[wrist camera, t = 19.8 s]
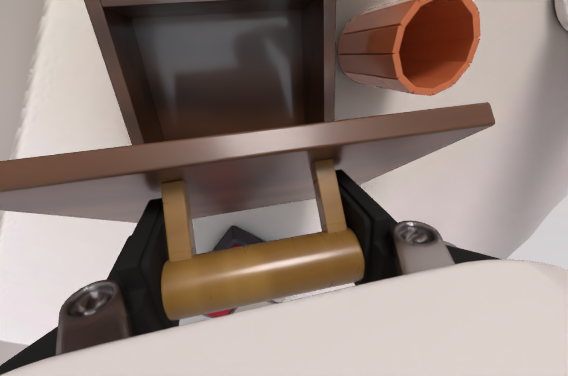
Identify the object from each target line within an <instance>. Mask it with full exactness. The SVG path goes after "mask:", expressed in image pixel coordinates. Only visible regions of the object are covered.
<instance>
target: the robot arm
mask: <svg viewBox="0 0 568 376" xmlns="http://www.w3.org/2000/svg"><path fill="white" fill-rule="evenodd" d="M555 10H556V14H557V17H558V20H559V21H560V23H561V25H562V26H563V27H564V28H565V29H566V30H567V31H568V0H555ZM335 172H336V177H337V182H338V187H339V191H340V196H341V201H342V206H343V211H344V216H345V221H346V226H347V228H350V229H352V231H353V232H354V233H355V235H356V236H357V238H358V240H359V243H360V245H361V248H362V252H363V256H364V262H365V273H364V277H363V279H362V280H361V281H358V282H354V284H355V285H356V286H352V287H348V288H343V289H339V290H334V291H330V292H326V293H321V294H317V295H312V296H308V297H304V298H299V299H295V300H290V301H286V302H282V303H277V304H273V305H268V306H264V307H260V308H255V309H251V310H246V311H242V312H238V313H233V314H229V315H224V316H220V317H216V318H211V319H207V320H202V321H198V322H194V323H189V324H185V325H181V326H179V322H180V320H176V321H170V320H169V319H168V318H167V316H166V314H165V311H164V308H163V303H162V297H161V275H162V270H163V266H164V264H165V262H166V261H168V260H169V255H168V246H167V237H166V228H165V219H164V210H163V201H162V198H158V199H152V200H149V202H148V204H147V206H146V208H145V210H144V212H143V214H142V216H141V218H140V220H139V222H138V224H137V226H136V228H135V230H134V232H133V234H132V235H131V236H129V237H128V239H127V241H126V243H125V245H124V247H123V249H122V251H121V252H120V254H119V256H118V258H117V260H116V262H115V264H114V266H113V268H112V270H111V272H110V274H109V276H108V278H107V280H101V281H97V282H94V283H91V284H89V285H87V286H85V287H83V288H81V289H80V290H78V291H77V292H75V293H74V294H72V295H71V296H70V297H69V298H68V299H67V300H66V301H65V303H64V304H63V305H62V307H61V310H60V313H59V323H58V327H56V328H55V329H53V330H52V331H50V332H49V333H47V334H46V335H44V336H43V337H42V338H40V339H39V340H37V341H36V342H34V343H33V344H31V345H30V346H28V347H27V348H25V349H24V350H22V351H21V352H20V353H18V354H17V355H15V356H14V357H12V358H11V359H9V360H8V361H6V362H5V363H3V364H2V365H1V366H0V376H568V270H566V269H563V268H561V267H558V266H554V265H550V264H545V263H540V262H533V261H524V260H510V259H499V258H495V257H491V256H487V255H483V254H480V253H476V252H472V251H468V250H464V249H460V248H457V247H453V246H449V245H445V243H444V241H443V239H442V237H441V236H440V234H439V233H438V231H437V230H436V229H434V228H433V227H432V226H430V225H427V224H425V223H422V222H418V221H403V222H399V223H397V222H396V221H395V220H394V219H393V218H392V217H391V216H390V215H389V214H388V213H387V212H386V211H385V210H384V209H383V208H382V207H381V206H380V205H379V204H378V203H377V202H376V201H374V200H373V199H372V198H371V197H370V196H369V195H368V194H367V193H366V192H365V191H364V190H363V189H362V188H361V187H360V186H359V185H358V184H357V183H355V182H354V181H353V180H352V179H351V178H350V177H349V176H348V175H347V174H346V173H345V172H344V171H343V170H341V169H340V170H335Z"/></svg>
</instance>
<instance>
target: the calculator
mask: <svg viewBox="0 0 568 376" xmlns="http://www.w3.org/2000/svg"><path fill="white" fill-rule="evenodd" d="M263 242H265V241H263V240H261V239H259V238H257V237H255V236H253V235H251V234H249V233H247V232H245V231H244V230H242V229H240V228H238V227H235V226H232V227H230V229H229V230H228V231H227V233H226V234H225V235H224V237H223V238H222V240H221V241H220V242H219V244H218V245H217V246H216V248H215V249H214V250H213V252H214V251H219V250H225V249H230V248H236V247H241V246H247V245H252V244H257V243H263ZM285 298H286V297H283V298H279V299H274V300H269V301H265V302H260V303H255V304H251V305H246V306H242V307H237V308H232V309H228V310H223V311H218V312H214V313H209V314H204V315H200V316H195V317H190V318H186V319H181V320H180V322H179V326H181V325H185V324H189V323H194V322H198V321H202V320H207V319H211V318H216V317H220V316H224V315H229V314H233V313H238V312H242V311H246V310H251V309H255V308H260V307H264V306H268V305H273V304H277V303H282V301H283V300H284V299H285Z"/></svg>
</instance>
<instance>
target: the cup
mask: <svg viewBox="0 0 568 376" xmlns="http://www.w3.org/2000/svg"><path fill="white" fill-rule="evenodd" d="M478 37H480V19H479V11H478V8H477V7H476V5H475V4H474V2H473V1H472V0H397V1H394V2H391V3H388V4H384V5H381V6H378V7H375V8H371V9H369V10H367V11H365V12H362V13H360V14H358V15H356V16H355V17H354V18H352V19H351V20H350V21H349V22H348V24H347V25H346V26H345V28H344V30H343V32H342V34H341V36H340V39H339V43H338V60H339V64H340V66H341V68H342V70H343V72H344V73H345V74H346V76H347V77H349V78H350V79H352V80H353V81H355V82H357V83H362V84H367V85H371V86H376V87H381V88H386V89H391V90H396V91H401V92H406V93H411V94H418V95H429V96H431V95H435V94H437V93H439V92H441V91H443V90H445V89H447V88H449V87H451V86H452V85H453V84H455V83H456V82H457V80H458V79H459V78H460V77H461V76H462V74H463V73H464V72H465V71H466V70H467V68H468V67H469V66H470V64H469V63H472V60H473V57H474V54H475V51H476V49H477V46H478V43H479V40H480V38H478Z"/></svg>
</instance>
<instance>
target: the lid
mask: <svg viewBox="0 0 568 376" xmlns="http://www.w3.org/2000/svg"><path fill="white" fill-rule="evenodd" d="M494 124H495V119H494V116H493V113H492V109H491V106H490V104H489V103H488V102H486V103H478V104H470V105H461V106H453V107H445V108H436V109H428V110H420V111H412V112H403V113H395V114H387V115H379V116H370V117H362V118H354V119H346V120H337V121H329V122H321V123H312V124H304V125H296V126H288V127H279V128H271V129H263V130H255V131H246V132H238V133H230V134H222V135H213V136H205V137H197V138H188V139H180V140H172V141H164V142H155V143H147V144H139V145H131V146H122V147H114V148H106V149H98V150H89V151H81V152H73V153H64V154H56V155H48V156H40V157H31V158H23V159H15V160H7V161H0V210H4V211H15V212H26V213H36V214H47V215H58V216H69V217H80V218H90V219H101V220H112V221H123V222H133V223H138V222H139V220H140V218H141V216H142V214H143V212H144V210H145V208H146V206H147V204H148V202H149V200H152V199H158V198H162V201H163V210H164V219H165V228H166V237H167V246H168V255H169V260H168V261H166V262H165V264H164V266H163V270H162V275H161V297H162V303H163V308H164V311H165V314H166V316H167V318H168V319H169V320H170V321H176V320H181V319H186V318H190V317H195V316H200V315H204V314H209V313H214V312H218V311H223V310H228V309H232V308H237V307H242V306H246V305H251V304H255V303H260V302H265V301H269V300H274V299H279V298H283V297H288V296H293V295H297V294H302V293H307V292H311V291H316V290H321V289H325V288H330V287H335V286H339V285H344V284H349V283H353V282H358V281H361V280H362V279H363V277H364V273H365V262H364V256H363V252H362V248H361V245H360V243H359V240H358V238H357V236H356V235H355V233H354V232H353V231H352V229H350V228H347V226H346V221H345V216H344V211H343V206H342V201H341V196H340V191H339V187H338V182H337V177H336V172H335V170H340V169H341V170H343V171H344V172H345V173H346V174H347V175H348V176H349V177H350V178H351V179H352V180H353V181H354V182H355V183H357V184H358V185H360V184H362V183H364V182H367V181H369V180H371V179H373V178H376V177H378V176H380V175H382V174H385V173H387V172H389V171H391V170H394V169H396V168H398V167H400V166H403V165H405V164H407V163H409V162H412V161H414V160H416V159H418V158H421V157H423V156H425V155H427V154H430V153H432V152H434V151H436V150H439V149H441V148H443V147H446V146H448V145H450V144H452V143H455V142H457V141H459V140H461V139H464V138H466V137H468V136H470V135H473V134H475V133H477V132H479V131H482V130H484V129H486V128H488V127H491V126H493V125H494ZM310 199H316V202H317V207H318V212H319V217H320V222H321V228H322V232H318V233H312V234H307V235H301V236H296V237H290V238H285V239H279V240H274V241H268V242H263V243H257V244H252V245H247V246H241V247H236V248H230V249H225V250H219V251H214V252H208V253H203V254H197V255H196V248H195V240H194V232H193V224H192V219H193V218H200V217H206V216H212V215H218V214H224V213H230V212H236V211H242V210H249V209H255V208H261V207H267V206H273V205H279V204H285V203H291V202H298V201H304V200H310Z"/></svg>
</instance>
